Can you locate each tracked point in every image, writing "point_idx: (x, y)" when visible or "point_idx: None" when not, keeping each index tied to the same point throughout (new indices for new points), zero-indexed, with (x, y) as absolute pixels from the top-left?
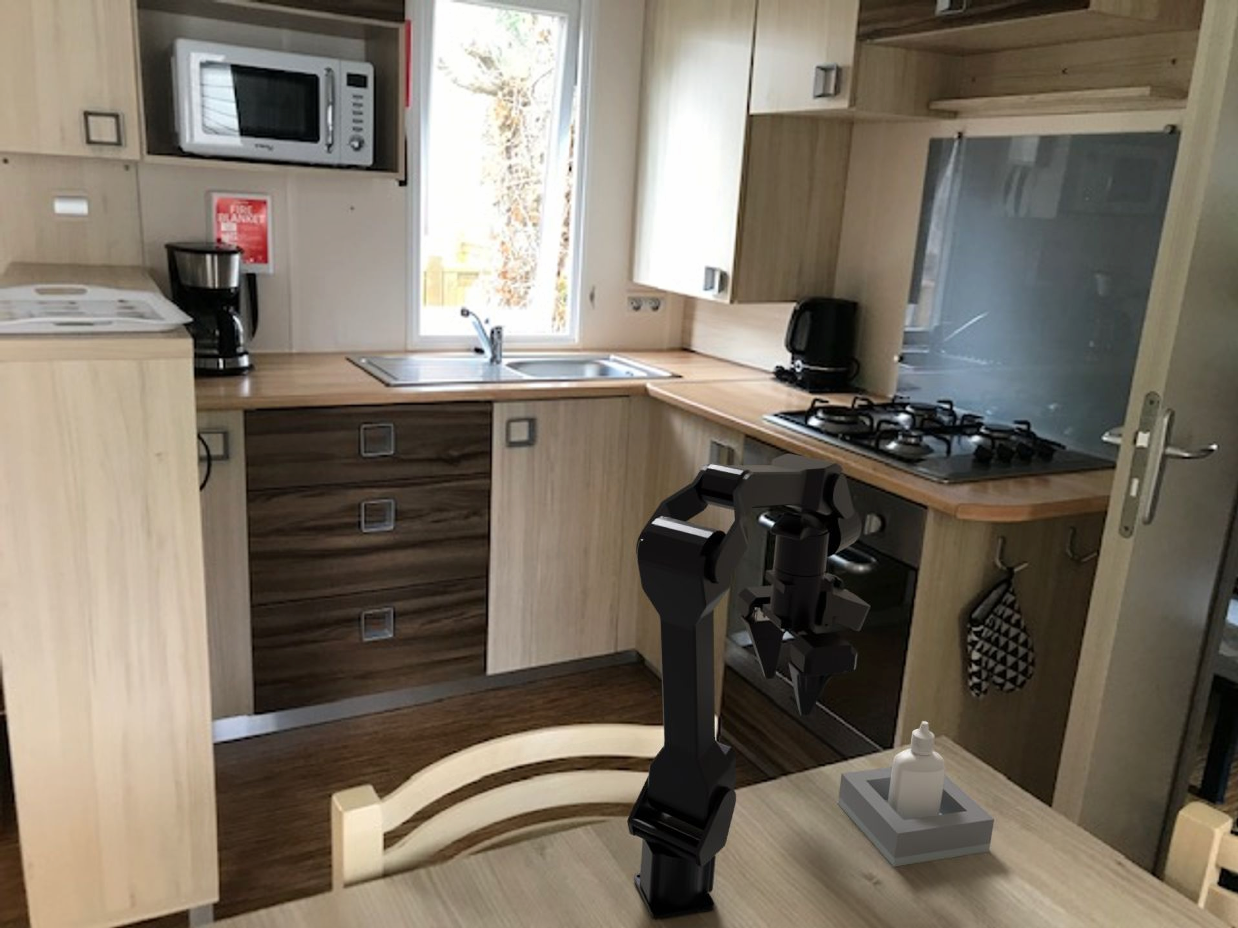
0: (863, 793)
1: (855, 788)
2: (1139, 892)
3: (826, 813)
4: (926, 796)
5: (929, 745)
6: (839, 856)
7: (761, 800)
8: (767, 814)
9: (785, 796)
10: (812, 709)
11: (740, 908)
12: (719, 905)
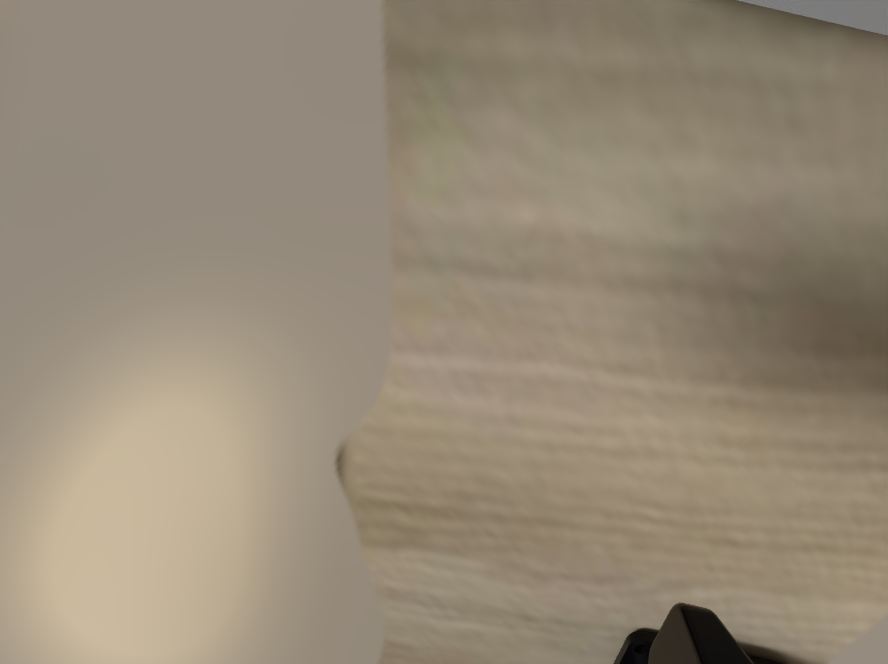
0: (866, 9)
1: (795, 13)
2: None
3: (635, 82)
4: None
5: None
6: (878, 241)
7: (430, 269)
8: (517, 305)
9: (446, 164)
10: (748, 658)
11: (830, 618)
12: (784, 645)
